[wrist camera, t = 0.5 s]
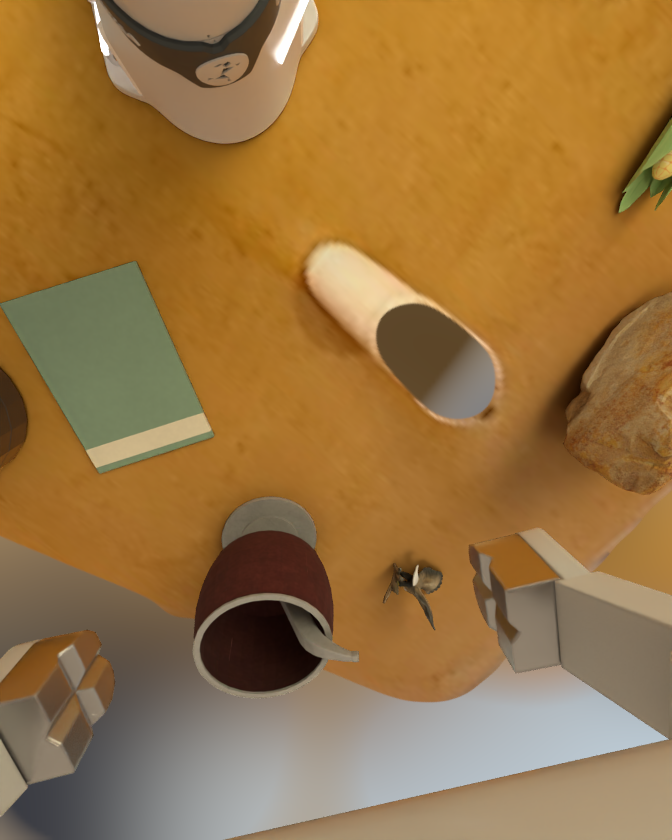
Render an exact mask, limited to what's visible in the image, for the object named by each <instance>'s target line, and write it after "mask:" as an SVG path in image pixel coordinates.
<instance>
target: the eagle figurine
mask: <svg viewBox="0 0 672 840" xmlns="http://www.w3.org/2000/svg"><path fill="white" fill-rule="evenodd" d="M393 566H394V573H393V577H392V581H391V583H390V585H389V588H388V590H387V592H386V594H385V596H384V600H383V603H385V602H386V600H387V599H388V597H389V595H390V593H391V591H393V592H395V593H396V594H397V595H398V589H399V588H398V586H399V587H403V588H404V589H405V590H406V591H408V592H409V593H411V594H413V595H414V596H415V597H416V598H417V599H418V601H419V603H420V605H421V607H422V608H423V610H424V612H425V615H426V617H427V618H428V620H429V622H430V623H431V625H432V627H433V629H434V630H435V628H434V624H433V616H432V611H431V607H430V605H429V603H428V601H427V599H426V597H425V596H424V595H423V593H422V592H421V589H423V590H424V591H426V593H427V594H430V593H433V592H434V590H435V591H436V590H437V589H438V588H440V585H441V584H442V581H441V580H442V579H443V578H442V577H443V575H442V573H441V572H440V571H435V570H432V568H430V567H427V568H426V567H424V568H423V569H422V571H421V572H420V573H418V565H417V566H416V568H415V572H414V573H413V575H411V574H409V573H406V572H402V571H401V568H398V567H397V566H396V564H395V563H394V564H393ZM400 575H401V576H402V577H404V578H405V579H406V580H407V582H406V581H403V580H404V579H403V578H402V577H401V576H400Z"/></svg>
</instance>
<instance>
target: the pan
mask: <svg viewBox="0 0 672 840" xmlns="http://www.w3.org/2000/svg"><path fill="white" fill-rule="evenodd" d="M26 427H27V416H26V412H25V408H24V404H23V400H22V397H21V396H20V394H19V393H18V391H17V389H16V388H15V386H14V385H13V383H12V381H11V380H10V378H9V377H8V376H7V375H6V374H5V373H4V372H3V371H2V370H1V369H0V469H1V468H2V467H3V466H4V465H6V464H7V463H8V462H10V461H11V460H12V459H14V458H15V457H16V455H17V453H18V451H19V450H20V448H21V446H22V445H23V443H24V440H25V435H26Z"/></svg>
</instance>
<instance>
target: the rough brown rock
mask: <svg viewBox="0 0 672 840" xmlns="http://www.w3.org/2000/svg"><path fill="white" fill-rule="evenodd" d="M580 387H581V392H580V394H579V395H578V396H577V397H576V398H574V399H573V400H572V401H571V402H570V404H569V405H568V407H567V408H566V410H565V414H566V418H567V420H568V422H569V424H568V425H567V434H566V438H565V440H564V443H563V444H564V446H565V448H566V449H567V450H568V452H569V453H570V454H571V455H573V456H574V457H575V458H576V459H577V460H578V461H579V462H581V463H582V464H583V465H584V466H585V467H587V468H589V469H591V470H593V471H596V472H598V473H599V474H600V475H602V476H603V477H604V478H605V479H606V480H608V481H610V482H611V483H613V484H614V485H616V486H618V487H620V488H622V489H624V490H628V491H632V492H636V493H639V494H642V495H646V494H651V493H654V492H656V491H658V490H660V489H661V488H662V487H663V486H664V485H665V484H666V483H667V482H668V481H670V480H671V479H672V292H670V293H668V294H665V295H663V296H660V297H656V298H653V299H651V300H649V301H648V302H646V303H645V304H643V305H642V306H641V307H639V308H637V309H636V310H634V311H633V312H631V313H630V314H628V315H627V316H626V317H624V318H623V319H622V320H621V321H620V323H619V324H618V325H617V326H616V327H615V328H614V329H613V330H612V332H611V334H610V336H609V337H608V339H607V340H606V342H605V344H604V346H603V347H602V348H601V350H600V351H599V352H598V353H597V354H596V356H595V357H594V359H593V361H592V362H591V363H590V364H589V367H588V368H587V370H586V371H585V372H584V374H583V376H582V382H581V386H580Z"/></svg>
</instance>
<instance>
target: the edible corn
mask: <svg viewBox="0 0 672 840" xmlns="http://www.w3.org/2000/svg"><path fill="white" fill-rule="evenodd" d="M650 185H651V186H650ZM649 186H650V197H653V196H655V195H656V194H658V193H660V192H661V191H663V189H664V188H665V189H664V191H663V193H662V195H661V197H660V199H659V201H658V203H657V205H656V208H655V210H656V209H657V207H658V206H659V205H660V204H661V203H662V201H663V200H664V199H665V198H666V196H667V195H668V194H669V192H670V191H671V190H672V116H671V118H670V120H669V121H668V123H667V125H666V126H665V128H664V129H663V131H662V133H661V134H660V136H659V137H658V139H657V141H656V142H655V144H654V145H653V147H652V148H651V150H650V152H649V154H648V155H647V157H646V158H645V160H644V161H643V163H642V164H641V166H640V167H639V168H638V170H637V171H636V173H635V174H634V176H633V177H632V179H631V180H630V182H629V183H628V185H627V186H626V188H625V189H624V191H623V192H622V193H624V192H626V191H627V192H626V194H625V196H624V197H623V199H622V201H621V204H620V208H619V213H620V212H622V211H624V210H626V209H628V208H629V207H630V206H631V205H632V204H633V203H634V202H635V201H636V200H637V199H638V198H639V197H640V196H641V195H642V194H643V193H644V191H645V190H646V189H647V188H648V187H649Z"/></svg>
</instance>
